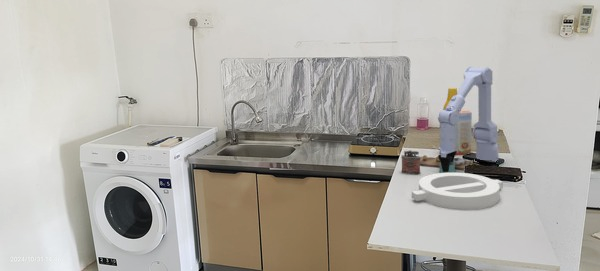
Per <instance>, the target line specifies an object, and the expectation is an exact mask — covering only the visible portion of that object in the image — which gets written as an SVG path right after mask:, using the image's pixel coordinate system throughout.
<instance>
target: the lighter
mask: <svg viewBox="0 0 600 271" xmlns="http://www.w3.org/2000/svg"><path fill="white" fill-rule="evenodd" d="M403 153H404V154H402V155H401V172H400V173H401V174H404V175H406V174H407V175H421V166H420V157H421V156H420V155H419V154H420V152H419V151H417V150H413V151H412V149H410V150H404V152H403Z"/></svg>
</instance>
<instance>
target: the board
mask: <svg viewBox="0 0 600 271" xmlns="http://www.w3.org/2000/svg"><path fill="white" fill-rule="evenodd" d="M440 163H441V162H440V160H439V158H438V155H437V156H436V157H429V156H427V155H426V154H424V155H423V156H420V167H429V168H437V169H438V168H439V169H440ZM453 163H455V171H456V170H458V171H465V170H464V169H465V166H467V165H470V166H471V164H472V161H471V160H466V159H465V158H460V157H454V160H453Z"/></svg>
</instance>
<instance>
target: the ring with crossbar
mask: <svg viewBox="0 0 600 271" xmlns="http://www.w3.org/2000/svg"><path fill="white" fill-rule="evenodd" d="M418 181H419V182H418V190H414V191H411V198H412V199H413V200H414V201H416V202H417V201H424V202H425V203H427V204H431V205H433V206H437V207H440V208H446V209H452V210H453V209H454V210H479V209H484V208H490V207H492V206H494V205H496V204H497V203H498V202H500V190H501V189H503V188H504V182H503V181H501V180H500V179H492V178H490V177H486V176H484V175H479V174H473V173H468V172H455V173H453V172H452V173H439V172H438V173H437V172H436V173H432V174H429V175H426V176H423V177H421V178H420V179H419V180H418Z"/></svg>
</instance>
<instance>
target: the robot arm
mask: <svg viewBox="0 0 600 271" xmlns="http://www.w3.org/2000/svg"><path fill="white" fill-rule="evenodd" d="M492 85H493V70H492V69H491V68H489V67H488V66H487V67H486V66H485V67H480V66H479V67H474V66H468V67H467V68H466V69H465V72H464V73H463V82H462V84H461V86H459V89H458V90H457V95H455V96H453V97H452V98H451V100H450V102H449V103H448V105H447V107H446V108H445V110H443V109H442V110H441V111H440V112H439V114H438V116H437V121H438V122H439V128H440V127H441V148H440V146H439V147H437V151H439V152H440V151H441V154H438V155H437V156H438V158H439V160H440V162H441V166H442V170H443V172H448V170H449V165H450V162H452V163H453V160H454V158H456V156H457V155H456V153H457V151H455V124H456V123H457V122H458V120H459V115H460V113H459V112H460V111H462V109H463V107H464V106H465V103H466V100H465V99H466V97H468V96H467V95H468V94H469V93H470V92H471V90H472V88H473V87H474V86H476V87H477V88H478V89H477V90H478V100H477V102H478V106H477V108H478V121H477V122H475V123H474V125H473V129H472V130H473V131H472V137H473V139H474V141H475V142H476V146H475V147H476V148H475V149H476V150H475V151H476V152H475V158H477V159H480V160H492V161H495V162H496V161H497V160H498V161H499V157H500V156H499V153H500V152H499V147H500V145H499V142H496V141H497V140H498V138H499V132H498V125H497V124H496V123H495V122H494V121H492ZM498 161H497V162H498ZM473 162H474V163H478V162H477V161H475V159H474V160H473Z"/></svg>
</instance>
